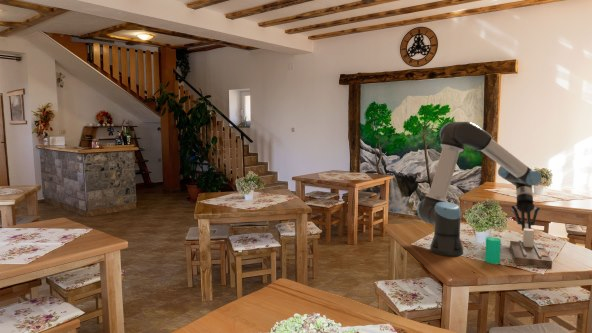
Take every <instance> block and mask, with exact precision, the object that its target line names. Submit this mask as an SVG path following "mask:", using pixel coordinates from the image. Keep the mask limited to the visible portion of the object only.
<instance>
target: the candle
mask: <svg viewBox="0 0 592 333" xmlns="http://www.w3.org/2000/svg"><path fill="white" fill-rule="evenodd" d="M501 241H502V239H500V238H499V237H494V235H492V236H491V237H490V236H486V237H485V254H484V256H485V258H484V259H485V262H486V263H488V264H493V265H494V264H495V265H497V264H500V262H501V246H502V245H501V244H502V243H501Z"/></svg>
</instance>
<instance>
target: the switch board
mask: <svg viewBox="0 0 592 333" xmlns="http://www.w3.org/2000/svg"><path fill="white" fill-rule="evenodd" d="M509 248H510V251H511V254H512V258H513V262H514V264H515V265H521V266H522V265H523V266H530V265H531V266H530V267H532V266H533V267H541V268H548V269H549V268H550V269H552V268H553V259H552V258H551V256H550V254H549V253H548V251H547V250H546V248H545V246H544V244H543V243H541V242H540V243H539V242H535V241H534V244H533V247H524V246H523V241H522V240H518V241H517V240H510V241H509Z"/></svg>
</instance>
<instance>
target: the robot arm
mask: <svg viewBox="0 0 592 333" xmlns="http://www.w3.org/2000/svg"><path fill="white" fill-rule="evenodd" d="M439 139H440V144H439V145H440V147H441V153H440V155H439V159H438V163H437V165H436V169H435V172H434V175H433V177H432V178H433V179H432V182H431V184H430V189H429V192H428V193H426V194H425V195H424V198H423V199H422V200H421V201H420V202H419V203H418V204H417V208H416V209H417V210H416V211H417V216H418V217H419V218H420V219H421V221H423V222H425V223H426V224H430V225H432V226H433V227H434V230H433V231H434V235H433V237H432V240H431V243H430V246H429V249H430V252H431V253H433V254H436V255H440V256H448V257H456V256H461V255H463V254H464V247H463V244H462V238H461V216H462V214H461V207H460V206H459V205H458V204H457V203H453V202H449V201H448V199H447V196H448V193H449V190H450V186H451V182H452V179H453V175H454V173H455V169H456V165H457V162H458V159H459V155H460V153H462V152H464V150H465V146H467V147H470V148H473V149H474V150H475V151H477V152H482V153H483V154H484V155H485V156H487V157H488V158H490V159H491V160H492V161H493V162H495V163H496V164H498V165H499V168H498V170H497V174H498V176H499V177H501V179H503V180H505V181H507V182H509V183H511V184H512V185H514V186H515V191H516V193H515V194H516V205H514V206H511V212H513V215H514V218H515V220H516V222H517V225H519V226H520V225H521V231H522V232H523V230H524V228H526V229H532V226H535V222H536V220H537V217H538V216H537V215H538V213H540V207H537V206H535V204H534V197H533V194H534V193H533V186H537V185H538V184H540V182H541V181H542V174H541V172H540V171H539V170H536V169H532V168H530V167H529V166H527V165H526V164H525V163H524V162H522V161H521V160H520V159H519V158H517V157H516V156H514V155H513V154H512V153H511V152H509V151H508V150H507V149H505V148H504V147H503V146H502V145H501V144H500V143H498V142H497V141H495V140H494V139H493V137H492V135H491V134H490V133H489V132H488V131H486V130H485V129H484V128H483V127H481V126H479V125H477V124H476V123H475V122H470V121H450V122H447V123H445V124H444V125H443V126H442V127H441V128H440V131H439ZM518 211H519V212H520V214H519V213H518ZM531 212H534V213H533V217H532V218H531ZM525 214H526V218H525ZM520 216H521V218H520ZM531 219H532V220H531ZM525 220H526V221H525ZM526 222H527V223H526Z"/></svg>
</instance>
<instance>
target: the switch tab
mask: <svg viewBox="0 0 592 333" xmlns="http://www.w3.org/2000/svg"><path fill="white" fill-rule="evenodd" d="M522 233H523V234H522V242H523V246H524V247H533V244H534V242H535V241H534V240H535V230H534V229H533V228H531V229H526V228H524V230H523V231H522Z"/></svg>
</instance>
